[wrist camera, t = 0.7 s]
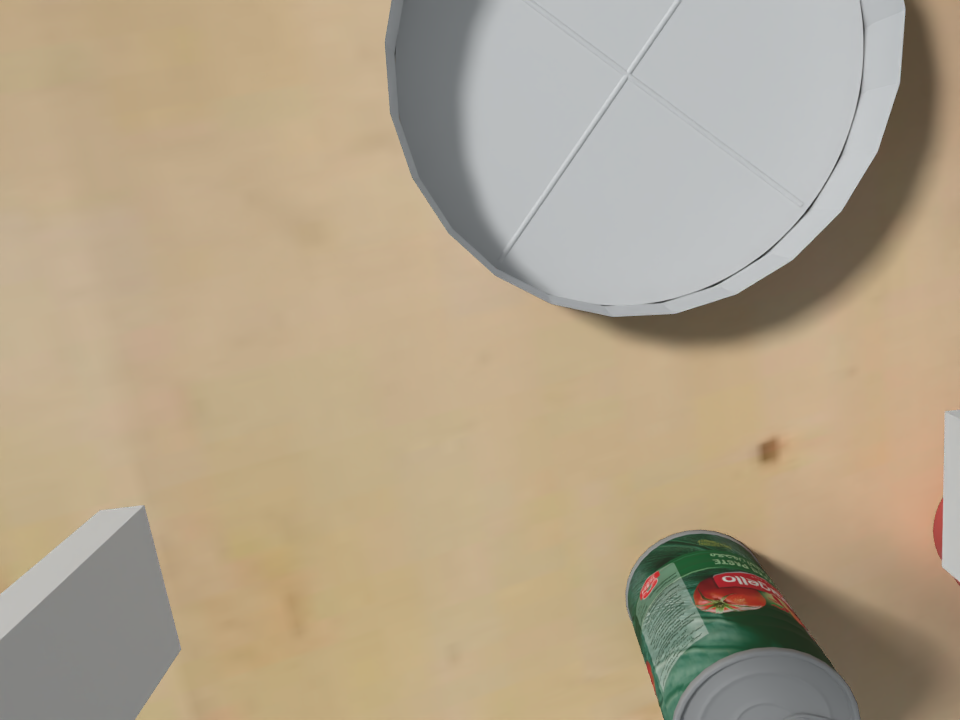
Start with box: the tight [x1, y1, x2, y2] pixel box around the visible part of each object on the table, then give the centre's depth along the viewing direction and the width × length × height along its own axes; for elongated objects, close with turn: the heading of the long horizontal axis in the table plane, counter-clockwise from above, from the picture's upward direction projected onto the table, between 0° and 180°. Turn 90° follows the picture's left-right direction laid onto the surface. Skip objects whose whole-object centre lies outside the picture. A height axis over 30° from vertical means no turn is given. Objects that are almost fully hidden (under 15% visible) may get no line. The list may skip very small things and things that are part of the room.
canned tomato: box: [626, 530, 860, 720], centre depth 36 cm, size 8×8×11 cm
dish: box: [385, 0, 905, 317], centre depth 33 cm, size 22×22×5 cm
